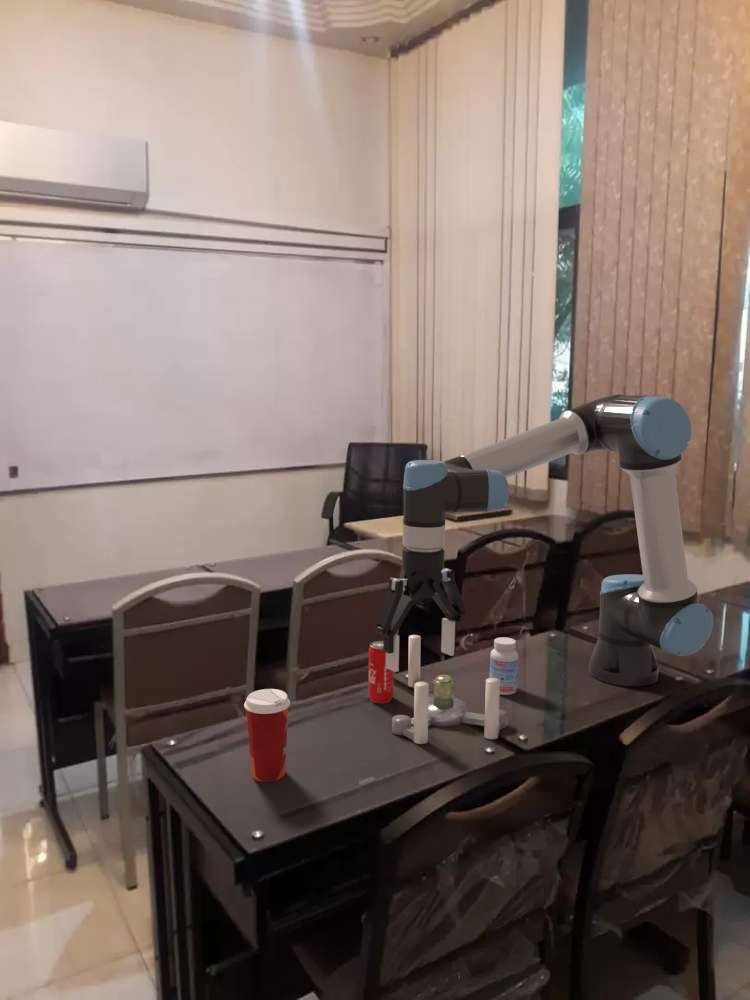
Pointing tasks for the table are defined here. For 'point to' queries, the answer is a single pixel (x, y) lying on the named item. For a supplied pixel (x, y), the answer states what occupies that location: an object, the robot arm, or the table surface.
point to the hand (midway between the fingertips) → (420, 661)
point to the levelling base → (451, 714)
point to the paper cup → (267, 733)
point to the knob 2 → (493, 710)
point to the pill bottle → (505, 664)
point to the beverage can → (379, 675)
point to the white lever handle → (416, 663)
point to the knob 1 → (415, 717)
